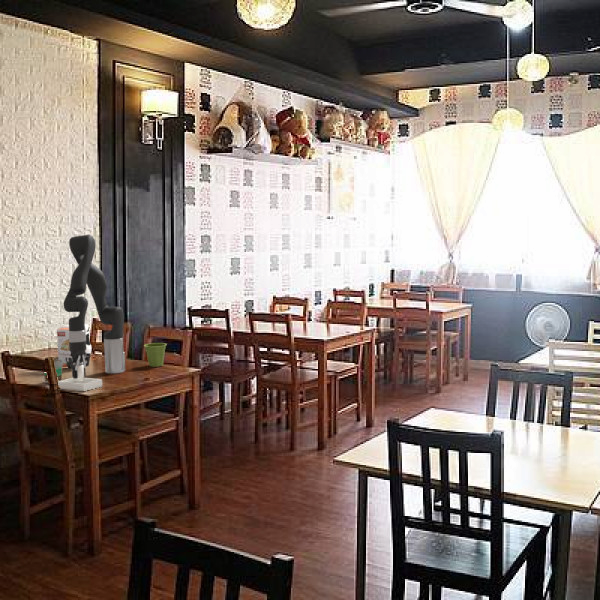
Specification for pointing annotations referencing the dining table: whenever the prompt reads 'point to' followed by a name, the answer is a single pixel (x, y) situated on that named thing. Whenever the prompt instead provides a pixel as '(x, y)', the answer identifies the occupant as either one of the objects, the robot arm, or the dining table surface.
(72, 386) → the tray
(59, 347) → the cracker box
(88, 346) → the milk container
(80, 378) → the shaker
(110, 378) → the dining table surface
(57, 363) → the food container
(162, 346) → the plant pot
